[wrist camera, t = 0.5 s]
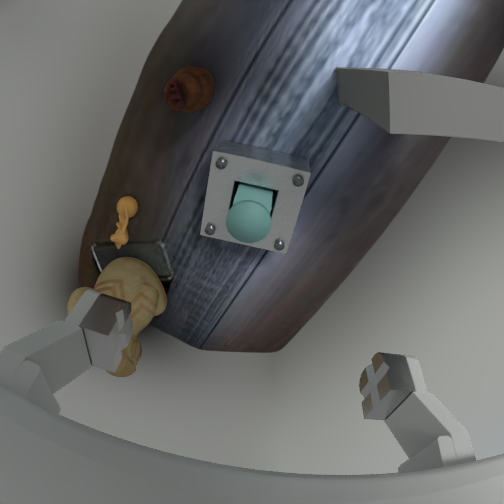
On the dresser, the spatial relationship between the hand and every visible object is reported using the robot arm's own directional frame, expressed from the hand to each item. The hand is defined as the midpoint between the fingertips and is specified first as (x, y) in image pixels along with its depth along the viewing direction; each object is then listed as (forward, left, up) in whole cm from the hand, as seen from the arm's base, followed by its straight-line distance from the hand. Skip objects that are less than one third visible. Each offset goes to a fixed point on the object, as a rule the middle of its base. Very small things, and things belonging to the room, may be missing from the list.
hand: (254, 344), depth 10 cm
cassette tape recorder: (-9, +14, -44) cm, 47 cm away
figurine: (+21, -22, -44) cm, 53 cm away
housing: (+13, -1, -44) cm, 45 cm away
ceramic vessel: (+39, -22, -44) cm, 62 cm away
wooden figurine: (-2, -13, -44) cm, 46 cm away
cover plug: (+13, -1, -44) cm, 45 cm away
